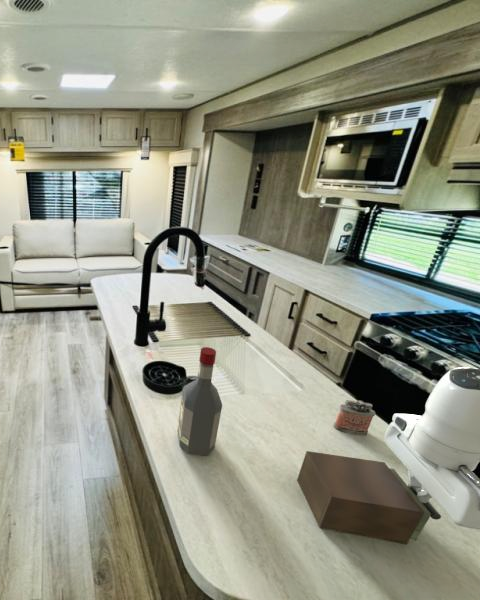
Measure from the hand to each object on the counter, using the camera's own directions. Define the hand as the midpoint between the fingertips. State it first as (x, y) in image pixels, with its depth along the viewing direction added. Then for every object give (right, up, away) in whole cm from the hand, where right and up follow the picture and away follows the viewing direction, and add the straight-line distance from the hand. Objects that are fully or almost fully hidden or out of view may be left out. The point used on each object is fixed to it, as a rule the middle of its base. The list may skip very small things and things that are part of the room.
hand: (416, 496), depth 65 cm
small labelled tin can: (+9, +3, +26) cm, 28 cm away
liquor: (-38, 0, +23) cm, 44 cm away
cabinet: (-10, -6, +5) cm, 13 cm away
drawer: (-6, -5, +4) cm, 9 cm away
